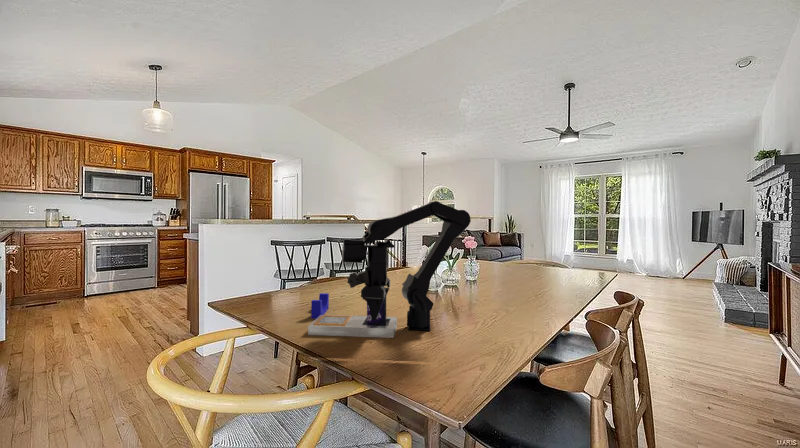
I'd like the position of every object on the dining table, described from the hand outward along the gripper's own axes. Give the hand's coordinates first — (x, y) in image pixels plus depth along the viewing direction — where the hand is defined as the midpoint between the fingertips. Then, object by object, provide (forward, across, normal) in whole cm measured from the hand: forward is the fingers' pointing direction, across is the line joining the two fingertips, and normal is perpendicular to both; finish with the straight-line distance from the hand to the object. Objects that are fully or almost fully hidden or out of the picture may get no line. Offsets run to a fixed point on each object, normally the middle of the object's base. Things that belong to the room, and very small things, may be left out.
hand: (376, 316), depth 101 cm
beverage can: (+4, 0, 0) cm, 5 cm away
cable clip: (+5, -16, -22) cm, 28 cm away
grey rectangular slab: (+4, 0, -6) cm, 8 cm away
